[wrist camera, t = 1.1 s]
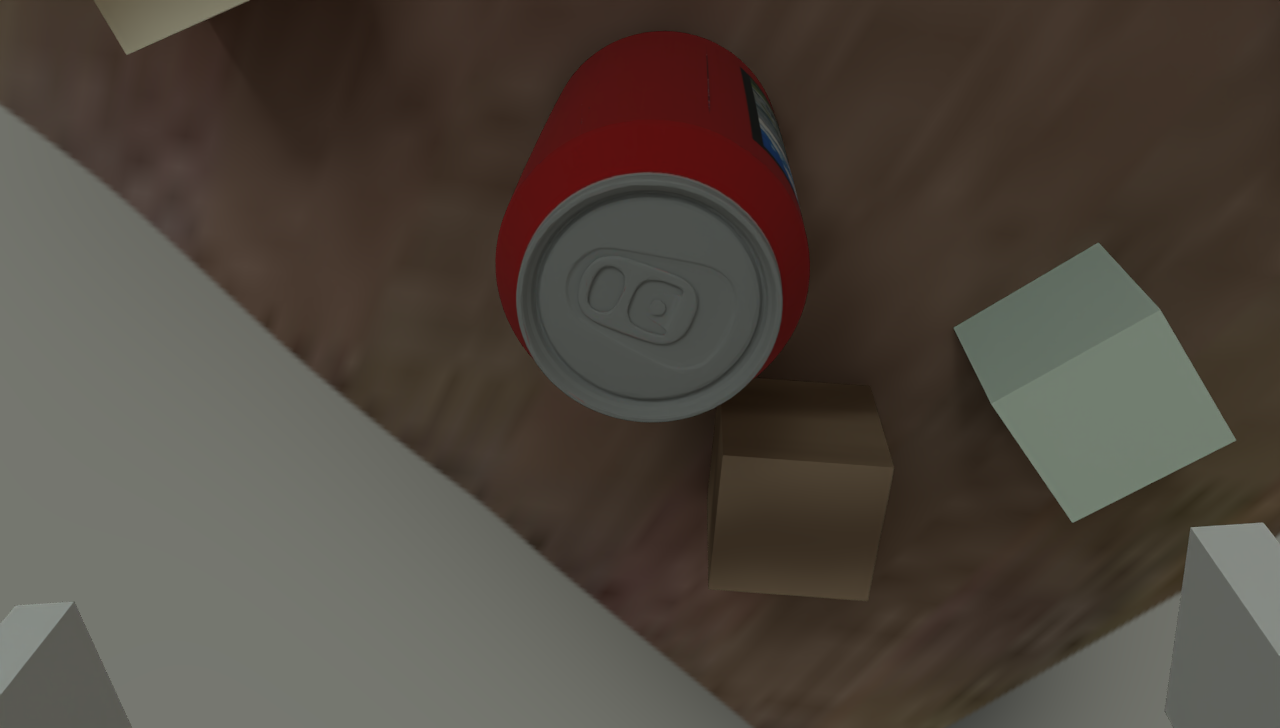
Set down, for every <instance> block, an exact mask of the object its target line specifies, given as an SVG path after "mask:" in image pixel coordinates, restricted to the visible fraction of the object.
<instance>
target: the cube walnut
mask: <svg viewBox="0 0 1280 728" xmlns="http://www.w3.org/2000/svg"><path fill="white" fill-rule="evenodd" d="M893 472H894V465H893V461H892V458H891V455H890V451H889V448H888V445H887V441H886V438H885V435H884V431H883V428H882V425H881V421H880V418H879V414H878V411H877V408H876V404H875V401H874V398H873V394H872V391H871V388H870V386H864V385H850V384H836V383H822V382H807V381H793V380H779V379H765V378H754V379H753V380H751V381H750V383H749V384H748V385H747V386H745V387H744V388H743V389H742V390H741V391H740V392H738V393H737V394H736V395H735V396H733V397H732V398H731V399H729V400H727V401H726V402H724V403H722V404H721V405H719V406H717V407H716V417H715V426H714V436H713V446H712V455H711V465H710V475H709V485H708V494H707V530H708V589H710V590H724V591H737V592H751V593H764V594H778V595H791V596H805V597H818V598H832V599H845V600H859V601H868V597H869V592H870V587H871V582H872V577H873V572H874V567H875V562H876V557H877V552H878V547H879V542H880V537H881V532H882V527H883V522H884V517H885V512H886V507H887V502H888V497H889V492H890V487H891V482H892V477H893Z"/></svg>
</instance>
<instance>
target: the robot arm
mask: <svg viewBox="0 0 1280 728" xmlns="http://www.w3.org/2000/svg"><path fill="white" fill-rule="evenodd" d="M1165 713H1166V715H1167V717H1168V719H1169V720H1170V722H1171V724H1172V726H1173V728H1280V543H1279V542H1278V541H1277V539H1276V538H1275V537H1274V536H1273V534H1272V533H1271V532H1270V531H1269V529H1268V528H1267V527H1266V526H1265V524H1264V523H1250V524H1235V525H1220V526H1205V527H1191V528H1190V535H1189V542H1188V549H1187V556H1186V563H1185V570H1184V578H1183V585H1182V592H1181V599H1180V606H1179V613H1178V621H1177V628H1176V634H1175V641H1174V648H1173V655H1172V663H1171V669H1170V677H1169V684H1168V691H1167V698H1166V705H1165ZM0 728H132V726H131V724H130V722H129V720H128V718H127V716H126V713H125V711H124V709H123V707H122V705H121V703H120V700H119V698H118V696H117V694H116V692H115V689H114V687H113V685H112V683H111V681H110V678H109V676H108V674H107V672H106V670H105V668H104V666H103V663H102V661H101V659H100V657H99V655H98V652H97V650H96V648H95V646H94V644H93V642H92V639H91V637H90V635H89V633H88V631H87V628H86V626H85V624H84V622H83V620H82V617H81V615H80V613H79V611H78V609H77V606H76V604H75V602H59V603H44V604H28V605H16V606H15V607H14V608H13V609H12V610H11V611H10V613H9V614H8V615H7V616H6V617H5V618H4V620H3V621H2V622H1V623H0Z"/></svg>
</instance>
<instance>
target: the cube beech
mask: <svg viewBox="0 0 1280 728" xmlns="http://www.w3.org/2000/svg"><path fill="white" fill-rule="evenodd" d="M248 1H250V0H94V2H95V3H96V5H97V7H98V8H99V10H100V12H101V13H102V15H103V17H104V18H105V20H106V22H107V23H108V25H109V27H110V28H111V30H112V32H113V33H114V35H115V37H116V38H117V40H118V41H119V43H120V45H121V46H122V48H123V50H124V51H125V53H126V55H128V54H130V53H132V52H135V51H137V50H139V49H142V48H144V47H146V46H149V45H151V44H153V43H155V42H158V41H160V40H162V39H165V38H167V37H169V36H171V35H174V34H176V33H178V32H181V31H183V30H185V29H187V28H190V27H192V26H194V25H197V24H199V23H201V22H203V21H206V20H208V19H210V18H212V17H215V16H217V15H219V14H221V13H224V12H226V11H228V10H230V9H232V8H235V7H237V6H239V5H241V4H244V3H246V2H248Z"/></svg>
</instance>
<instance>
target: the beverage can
mask: <svg viewBox="0 0 1280 728" xmlns="http://www.w3.org/2000/svg"><path fill="white" fill-rule="evenodd" d="M496 278H497V286H498V291H499V296H500V299H501V303H502V306H503V309H504V312H505V314H506V317H507V319H508V321H509V323H510V325H511V327H512V329H513V331H514V333H515V335H516V336H517V338H518V340H519V341H520V343H521V344H522V346H523V347H524V348H525V350H526V351H527V352H528V354H529V355H530V356H531V357H532V358H533V359H534V360H535V362H536V364H537V365H538V366H539V368H540V369H541V370H542V371H543V373H544V374H545V375H546V376H547V377H548V378H549V380H550V381H551V382H552V383H553V384H555V385H556V386H557V387H558V388H559V389H560V390H561V391H563V392H564V393H565V394H566V395H568V396H569V397H571V398H572V399H574V400H575V401H577V402H579V403H580V404H582V405H584V406H585V407H588V408H590V409H592V410H594V411H597V412H599V413H602V414H604V415H607V416H611V417H614V418H619V419H623V420H628V421H637V422H667V421H674V420H680V419H685V418H689V417H693V416H696V415H698V414H701V413H704V412H706V411H709V410H711V409H713V408H715V407H717V406H719V405H721V404H722V403H724V402H726V401H727V400H729V399H731V398H732V397H733V396H735V395H736V394H737V393H738V392H740V391H741V390H742V389H743V388H744V387H745V386H747V385H748V384H749V383H750V381H751V380H753V379H754V378H755V377H757V376H758V375H759V374H760V373H761V372H762V371H763V370H765V369H766V368H767V367H768V366H769V364H770V363H771V362H772V361H773V360H774V359H775V358H776V357H777V355H778V354H779V353H780V352H781V350H782V349H783V348H784V346H785V345H786V343H787V342H788V340H789V339H790V337H791V335H792V333H793V332H794V330H795V328H796V326H797V324H798V321H799V319H800V317H801V314H802V311H803V308H804V305H805V301H806V297H807V292H808V286H809V278H810V258H809V248H808V242H807V237H806V232H805V228H804V224H803V219H802V215H801V210H800V206H799V202H798V198H797V194H796V190H795V186H794V182H793V178H792V174H791V170H790V166H789V162H788V158H787V155H786V151H785V148H784V144H783V140H782V137H781V133H780V130H779V127H778V124H777V121H776V117H775V114H774V111H773V108H772V105H771V103H770V100H769V98H768V96H767V94H766V92H765V90H764V88H763V87H762V85H761V83H760V82H759V80H758V79H757V78H756V76H755V75H754V74H753V73H752V71H751V70H750V69H749V68H748V67H747V66H746V65H745V64H744V63H743V62H742V61H741V60H740V59H739V58H737V57H736V56H735V55H734V54H732V53H731V52H729V51H728V50H726V49H725V48H723V47H721V46H720V45H718V44H716V43H714V42H712V41H709V40H707V39H704V38H701V37H698V36H695V35H691V34H687V33H681V32H672V31H654V32H646V33H641V34H636V35H632V36H629V37H626V38H623V39H620V40H618V41H616V42H613V43H612V44H610V45H608V46H606V47H604V48H603V49H601V50H600V51H598V52H596V53H595V54H594V55H593V56H591V57H590V58H589V59H588V60H587V61H586V62H585V63H583V64H582V65H581V66H580V67H579V69H578V70H577V71H576V72H575V73H574V74H573V76H572V77H571V78H570V80H569V81H568V83H567V84H566V86H565V88H564V89H563V91H562V93H561V95H560V97H559V99H558V101H557V102H556V104H555V106H554V108H553V110H552V112H551V114H550V116H549V118H548V120H547V122H546V124H545V126H544V128H543V130H542V132H541V134H540V136H539V139H538V141H537V143H536V145H535V147H534V149H533V151H532V153H531V156H530V158H529V160H528V162H527V164H526V166H525V168H524V170H523V173H522V175H521V177H520V180H519V182H518V184H517V187H516V189H515V191H514V194H513V196H512V198H511V201H510V203H509V205H508V207H507V210H506V212H505V215H504V218H503V220H502V224H501V227H500V231H499V235H498V241H497V247H496Z"/></svg>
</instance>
